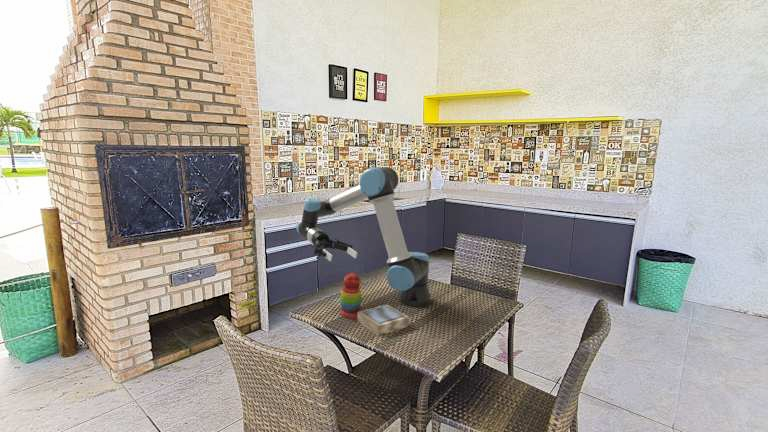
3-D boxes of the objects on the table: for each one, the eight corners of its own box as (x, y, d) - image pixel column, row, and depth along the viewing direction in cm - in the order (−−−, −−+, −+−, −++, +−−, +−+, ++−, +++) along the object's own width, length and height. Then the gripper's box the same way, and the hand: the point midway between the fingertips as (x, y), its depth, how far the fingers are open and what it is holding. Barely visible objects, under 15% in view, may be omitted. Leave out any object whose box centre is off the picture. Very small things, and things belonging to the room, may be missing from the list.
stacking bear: (359, 320, 157) (360, 279, 154) (336, 317, 159) (336, 276, 156) (366, 310, 168) (367, 271, 165) (343, 307, 170) (344, 269, 167)
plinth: (386, 312, 165) (387, 303, 165) (408, 326, 154) (409, 316, 153) (357, 320, 157) (357, 310, 156) (378, 335, 145) (378, 325, 144)
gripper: (338, 243, 189) (364, 261, 175) (293, 247, 172) (318, 267, 158) (341, 229, 187) (367, 246, 173) (296, 231, 170) (321, 251, 156)
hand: (344, 257), depth 165 cm, fingers open, 13 cm apart
